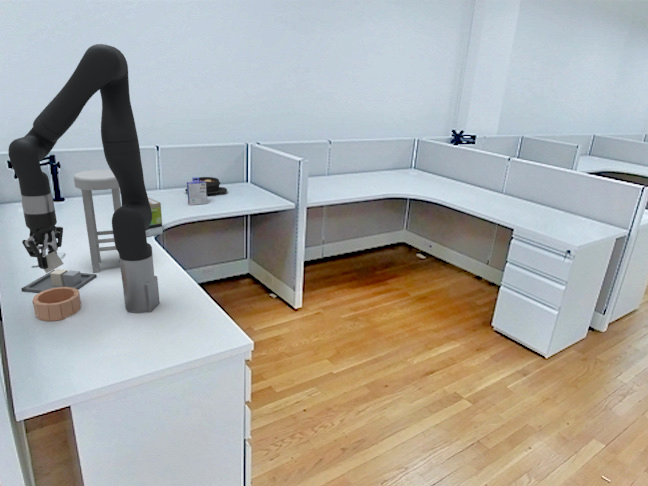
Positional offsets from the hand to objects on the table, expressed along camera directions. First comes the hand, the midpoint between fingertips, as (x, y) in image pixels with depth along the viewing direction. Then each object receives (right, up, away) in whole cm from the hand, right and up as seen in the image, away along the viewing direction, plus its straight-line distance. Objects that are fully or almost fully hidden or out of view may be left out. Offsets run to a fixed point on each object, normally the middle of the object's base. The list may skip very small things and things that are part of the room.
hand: (49, 265), depth 132 cm
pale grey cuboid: (+2, -1, 0) cm, 2 cm away
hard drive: (-23, -1, +38) cm, 44 cm away
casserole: (+9, +37, +143) cm, 148 cm away
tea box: (-1, +12, +73) cm, 74 cm away
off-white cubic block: (-8, -7, +20) cm, 23 cm away
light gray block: (-4, -8, +19) cm, 21 cm away
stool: (+1, -2, +36) cm, 36 cm away
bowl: (+1, -14, +4) cm, 15 cm away
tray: (-8, -8, +20) cm, 23 cm away
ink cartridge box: (+10, +29, +120) cm, 124 cm away
